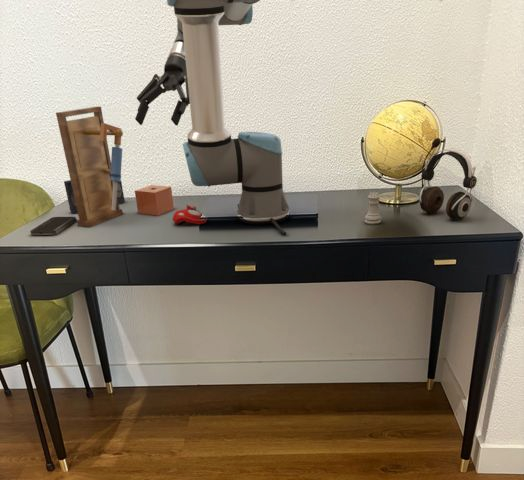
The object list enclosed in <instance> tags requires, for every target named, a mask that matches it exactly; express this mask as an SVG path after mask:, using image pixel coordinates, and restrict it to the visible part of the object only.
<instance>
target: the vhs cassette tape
mask: <svg viewBox="0 0 524 480" xmlns="http://www.w3.org/2000/svg"><path fill="white" fill-rule="evenodd" d="M63 183H64V188H65V192H66V197H67V203H68V206H69V211H70V213H71V214H78V211H77V207H76V202H75V198H74V193H73V189H72V184H71V179H69V180H64V181H63ZM117 198H118V204H119V205H121V204H124V203H126V200H125V194H124V189H123V183H122V179H121V180H120V182H117Z"/></svg>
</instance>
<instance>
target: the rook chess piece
mask: <svg viewBox="0 0 524 480" xmlns="http://www.w3.org/2000/svg"><path fill="white" fill-rule="evenodd" d="M367 198H368V200H369V201H368V210H367V213H366V215H365V216H364V218H365V219H364V223H365V224H367V225H373V226H374V225H379V224H380V223H381V222H382V220H381V219H382V217H381V215H380V211H379V204H380V201H379V200H380V198H381V195H380V192H379V191H376V192H375V191H373V192H372V191H371V192H369V194H368V196H367Z"/></svg>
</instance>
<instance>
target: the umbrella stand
mask: <svg viewBox="0 0 524 480" xmlns="http://www.w3.org/2000/svg"><path fill="white" fill-rule="evenodd" d="M134 195H135V202H136V208H137V213H138V214H142V215H149V216H161V215H163V214H166V213H168V212H171V211H173V210H175V205H174V198H173V189H172V186H167V185H157V184H155V185H154V184H150V185H146V186H144V187H141V188H138V189H135V190H134Z"/></svg>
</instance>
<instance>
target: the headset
mask: <svg viewBox="0 0 524 480" xmlns="http://www.w3.org/2000/svg"><path fill="white" fill-rule="evenodd" d="M441 142H442V140H441V138H439V137H436V138H434V139H433V140H432V143H431V147H430V149H429V151H428V153H427V154H426V156H425V158H424V160H423V163H422V167H421V176H420V177H421V190H420V192H419V207H420V209H421V210H422V211H424V212H425V213H426V214H427V215H428V214H429V215H432V214H435V213H437V212H439V211H440V209H441V208H442V207H443V204H444V200H445V194H444V191H443V190H442V189H441V188H440V187H439V186H432V185H431V184H430V181H432V180H433V179H434V177H435V170H434V169H435V167H436V164H437V163H438V161H439V160H440V159H441V158H442V157H444V156H446V155H447V156H450V157H452V158H453V159H455V160H456V161H457V162H458V164H460V166H461V168H462V170H463V174H464V177H463V180H462V187H463V188H465V189H466V191H465V192H464V191H462V190H461V191H457V192H454V193H453V194H451V195H450V197H449V198H448V200H447V201H446V206H445V212H446V215H447V217H449V219H450V220H453V221H455V220H462V219H464V218H465V217H467V215H468V214H469V212H470V210H471V206H472V204H473V203H472V202H473V200H474V196H473V194H472V191H473V189H474V188H475V187H476V185H477V181H478V180H477V179H478V178H477V176H475V171H476V169H477V167H476V166H473V164H472V162H471V159H470V158H469V157H468V156H467V155H466V154H465V153H464V152H462V151H460V150H456V149H442V150H438V151H436V152H434V153H433V154H432V155H431V157H430V158H429V159H428V157H429V155H430V154H431V151H432V150H434V149H436V148H438V147H439V146H440V145H441ZM426 181H427V182H426ZM426 183H427V185H428V187H427V188H426ZM425 188H426V189H425ZM468 192H469V194H468Z"/></svg>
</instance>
